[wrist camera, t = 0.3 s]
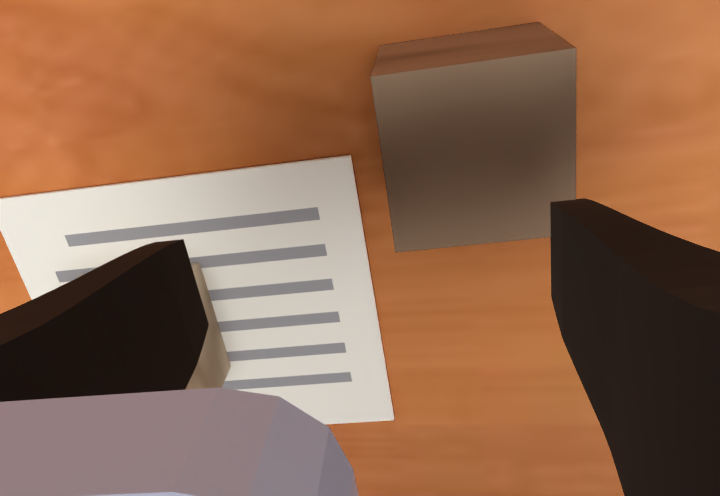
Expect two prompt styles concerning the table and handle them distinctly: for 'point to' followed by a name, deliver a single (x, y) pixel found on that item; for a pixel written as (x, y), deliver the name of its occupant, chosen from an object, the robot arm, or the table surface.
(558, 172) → the walnut block
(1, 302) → the table surface
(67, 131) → the table surface
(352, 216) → the letter
